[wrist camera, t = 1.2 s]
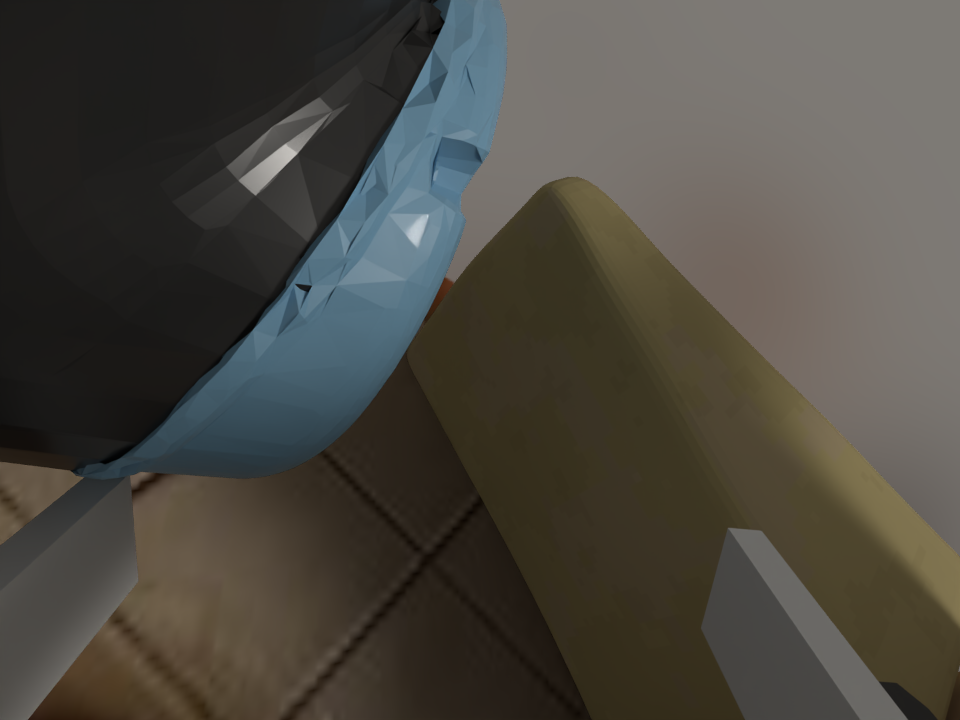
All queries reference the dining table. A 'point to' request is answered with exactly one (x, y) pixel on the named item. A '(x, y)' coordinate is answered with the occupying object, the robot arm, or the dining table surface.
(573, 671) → the cheese
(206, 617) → the dining table surface
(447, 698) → the dining table surface
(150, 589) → the dining table surface
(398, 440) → the dining table surface
